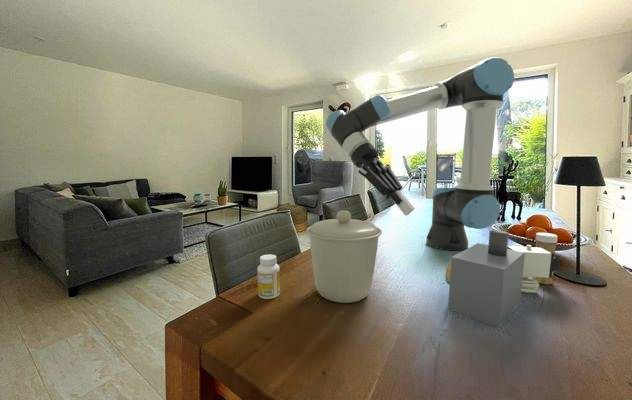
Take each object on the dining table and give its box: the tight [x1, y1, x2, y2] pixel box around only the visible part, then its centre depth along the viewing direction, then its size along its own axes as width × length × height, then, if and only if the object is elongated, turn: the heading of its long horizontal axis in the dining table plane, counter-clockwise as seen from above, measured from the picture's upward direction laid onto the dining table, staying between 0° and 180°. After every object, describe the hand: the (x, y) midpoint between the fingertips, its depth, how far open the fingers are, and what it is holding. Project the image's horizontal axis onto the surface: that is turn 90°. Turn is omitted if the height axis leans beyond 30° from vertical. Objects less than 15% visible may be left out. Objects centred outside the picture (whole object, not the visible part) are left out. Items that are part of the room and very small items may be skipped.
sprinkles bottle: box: [532, 232, 558, 285], centre depth 78 cm, size 5×5×14 cm
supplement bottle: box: [256, 254, 281, 300], centre depth 70 cm, size 5×5×10 cm
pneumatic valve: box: [507, 244, 560, 294], centre depth 73 cm, size 6×12×12 cm, turn 78°
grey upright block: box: [487, 229, 509, 256], centre depth 65 cm, size 4×4×5 cm
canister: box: [306, 210, 383, 304], centre depth 70 cm, size 18×18×21 cm
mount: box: [447, 243, 525, 328], centre depth 65 cm, size 10×16×12 cm, turn 132°
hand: (409, 212), depth 76 cm, fingers closed
